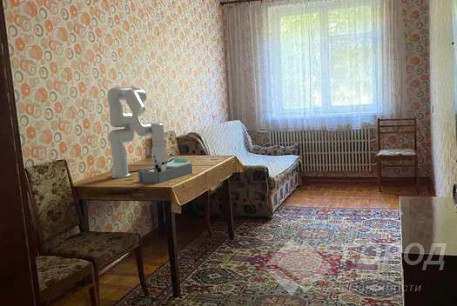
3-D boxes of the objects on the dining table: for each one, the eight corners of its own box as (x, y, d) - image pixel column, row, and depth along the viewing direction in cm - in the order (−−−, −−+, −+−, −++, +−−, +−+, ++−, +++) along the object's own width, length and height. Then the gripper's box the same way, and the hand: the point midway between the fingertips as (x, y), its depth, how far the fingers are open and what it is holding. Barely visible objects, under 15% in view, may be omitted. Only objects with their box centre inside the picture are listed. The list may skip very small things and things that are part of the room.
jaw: (155, 174, 265) (154, 165, 264) (159, 173, 268) (159, 164, 267) (162, 174, 262) (161, 165, 261) (166, 173, 265) (165, 164, 265)
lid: (155, 166, 278) (155, 161, 277) (171, 162, 291) (171, 157, 291) (176, 167, 269) (175, 162, 269) (191, 163, 283) (191, 158, 282)
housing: (137, 183, 264) (136, 168, 262) (172, 173, 292) (171, 160, 291) (158, 184, 255) (157, 169, 254) (192, 174, 284) (191, 160, 282)
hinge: (174, 167, 316) (177, 154, 313) (179, 169, 314) (183, 157, 311) (161, 171, 301) (165, 158, 298) (167, 174, 299) (170, 160, 296)
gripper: (162, 142, 272) (165, 171, 274) (144, 145, 257) (147, 176, 260) (172, 142, 268) (174, 171, 270) (154, 145, 253) (157, 176, 256)
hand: (161, 173), depth 265 cm, fingers closed on jaw, 4 cm apart
